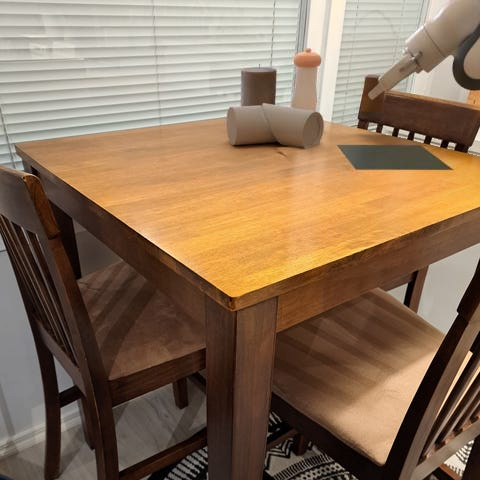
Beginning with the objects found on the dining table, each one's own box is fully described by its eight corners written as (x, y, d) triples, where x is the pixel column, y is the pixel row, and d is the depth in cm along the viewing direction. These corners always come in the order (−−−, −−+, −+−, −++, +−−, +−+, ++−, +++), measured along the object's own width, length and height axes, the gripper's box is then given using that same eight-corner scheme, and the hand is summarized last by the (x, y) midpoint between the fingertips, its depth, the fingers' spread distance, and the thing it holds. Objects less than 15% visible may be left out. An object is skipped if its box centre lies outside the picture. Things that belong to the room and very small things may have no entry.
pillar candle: (280, 122, 141) (283, 63, 133) (263, 128, 134) (265, 66, 126) (251, 118, 145) (252, 61, 137) (233, 124, 138) (233, 64, 130)
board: (419, 149, 117) (420, 145, 117) (452, 174, 100) (454, 169, 100) (336, 149, 117) (336, 144, 116) (355, 174, 100) (355, 169, 99)
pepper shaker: (304, 124, 139) (310, 46, 129) (321, 129, 134) (329, 48, 123) (283, 127, 136) (288, 47, 125) (300, 132, 131) (306, 50, 120)
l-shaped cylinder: (298, 128, 128) (224, 133, 123) (304, 86, 121) (226, 89, 116) (326, 161, 117) (245, 168, 112) (335, 117, 109) (249, 122, 104)
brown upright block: (382, 116, 122) (389, 76, 117) (380, 119, 119) (386, 78, 114) (362, 114, 124) (368, 74, 119) (359, 117, 121) (365, 76, 116)
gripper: (426, 67, 103) (371, 113, 111) (435, 59, 119) (387, 99, 127) (408, 42, 102) (355, 90, 110) (420, 36, 118) (372, 79, 126)
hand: (372, 95), depth 119 cm, fingers closed on brown upright block, 4 cm apart
